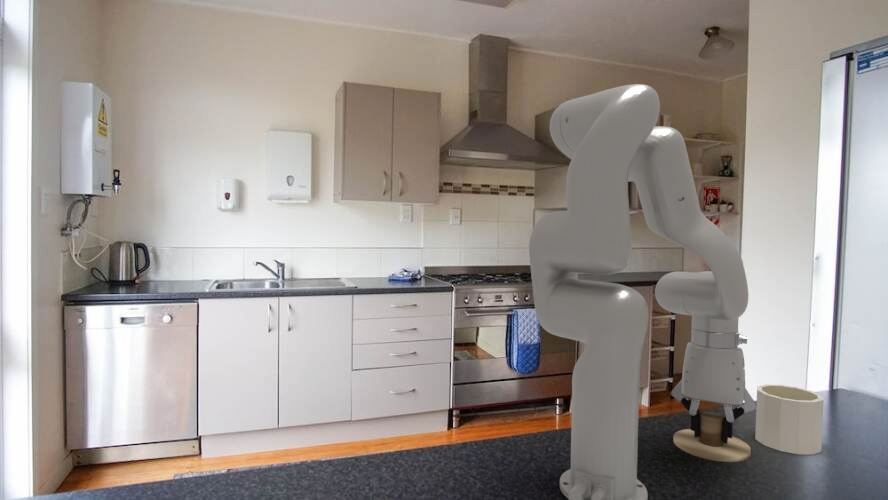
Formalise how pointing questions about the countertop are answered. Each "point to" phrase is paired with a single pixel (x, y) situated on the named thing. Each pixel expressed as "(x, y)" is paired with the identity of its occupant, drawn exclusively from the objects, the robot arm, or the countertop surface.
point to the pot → (789, 419)
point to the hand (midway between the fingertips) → (711, 436)
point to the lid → (711, 441)
